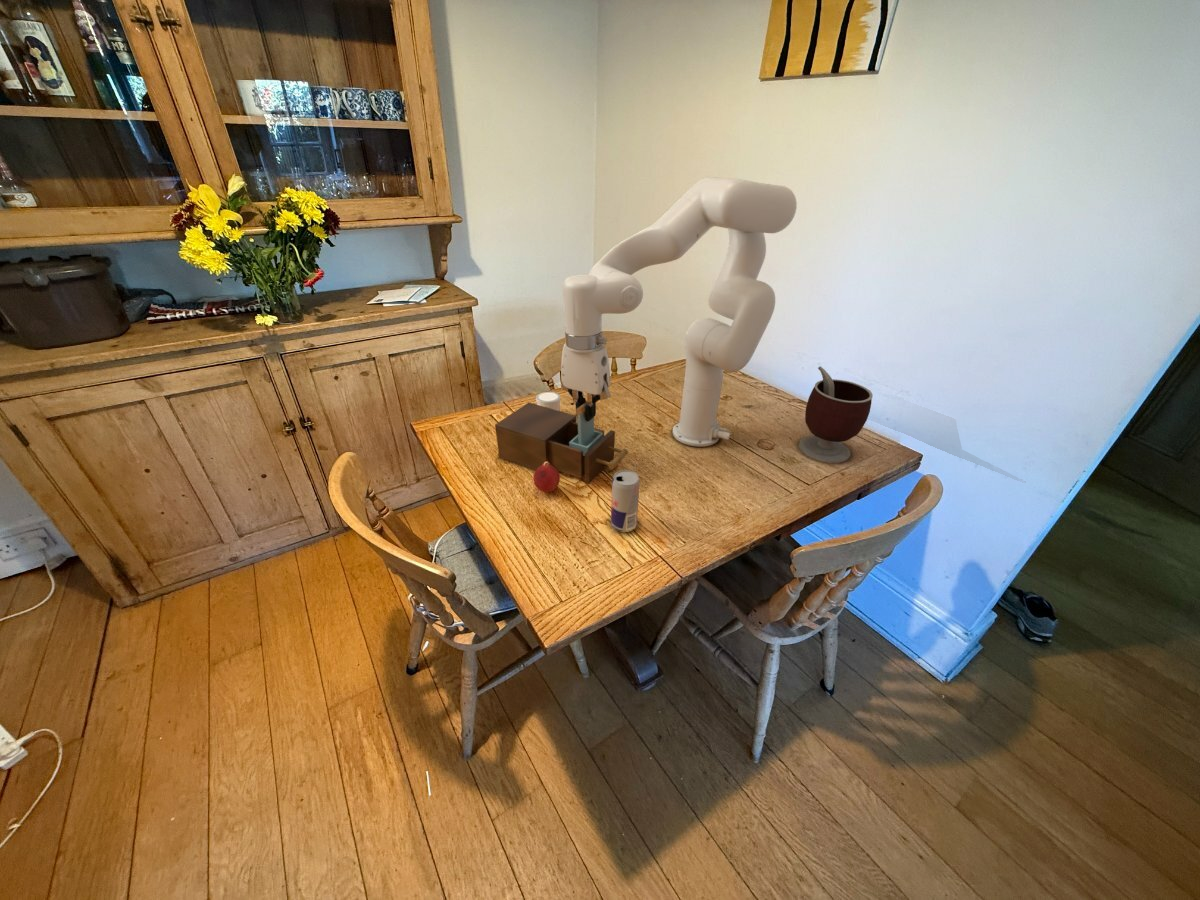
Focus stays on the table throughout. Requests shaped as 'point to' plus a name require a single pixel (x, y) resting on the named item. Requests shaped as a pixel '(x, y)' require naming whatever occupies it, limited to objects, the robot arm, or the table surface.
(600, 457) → the drawer
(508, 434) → the cabinet
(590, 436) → the caddy
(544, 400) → the brown white round container
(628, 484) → the energy drink
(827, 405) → the mate gourd
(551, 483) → the onion
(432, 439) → the table surface
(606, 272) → the robot arm
